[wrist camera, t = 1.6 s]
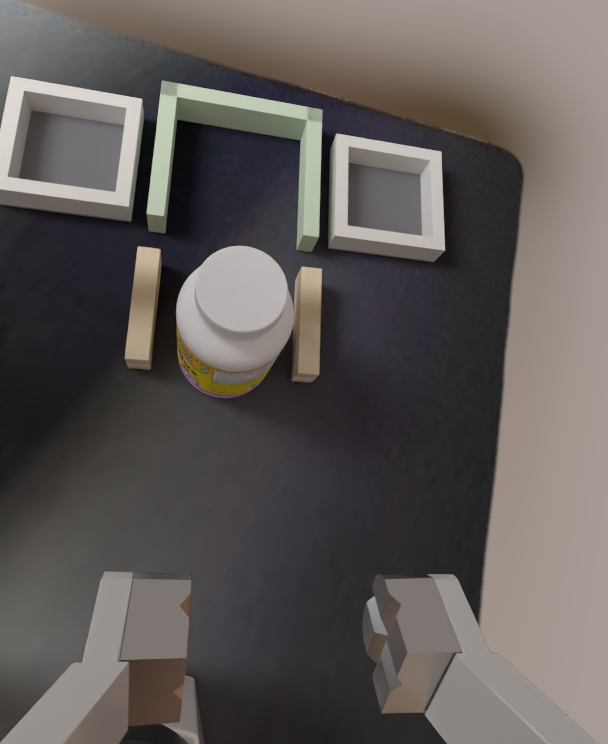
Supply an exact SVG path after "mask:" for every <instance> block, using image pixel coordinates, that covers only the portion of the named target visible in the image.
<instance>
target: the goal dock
mask: <svg viewBox="0 0 608 744" xmlns="http://www.w3.org/2000/svg"><path fill="white" fill-rule="evenodd" d="M177 120H183V121H189V122H195V123H201V124H206V125H212V126H218V127H224V128H230V129H236V130H242V131H248V132H254V133H260V134H266V135H272V136H277V137H283V138H289V139H295V140H301V144H300V171H299V198H298V224H297V250H298V251H306V252H312V250H313V248H314V246H315V244H316V242H317V240H318V238H319V217H320V179H321V141H322V110H321V109H316V108H310V107H305V106H299V105H294V104H288V103H283V102H277V101H272V100H266V99H261V98H255V97H250V96H244V95H239V94H233V93H228V92H222V91H217V90H211V89H206V88H200V87H195V86H189V85H184V84H178V83H173V82H167V81H162V85H161V93H160V102H159V111H158V119H157V128H156V137H155V145H154V154H153V162H152V171H151V180H150V188H149V197H148V205H147V222H148V230H149V231H151V232H158V233H165V231H166V222H167V212H168V203H169V193H170V184H171V174H172V165H173V155H174V146H175V136H176V127H177Z"/></svg>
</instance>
